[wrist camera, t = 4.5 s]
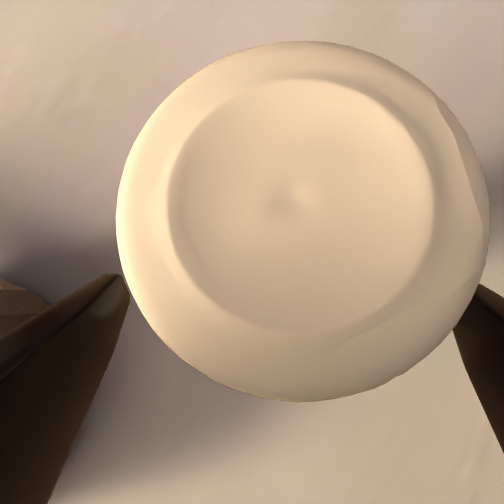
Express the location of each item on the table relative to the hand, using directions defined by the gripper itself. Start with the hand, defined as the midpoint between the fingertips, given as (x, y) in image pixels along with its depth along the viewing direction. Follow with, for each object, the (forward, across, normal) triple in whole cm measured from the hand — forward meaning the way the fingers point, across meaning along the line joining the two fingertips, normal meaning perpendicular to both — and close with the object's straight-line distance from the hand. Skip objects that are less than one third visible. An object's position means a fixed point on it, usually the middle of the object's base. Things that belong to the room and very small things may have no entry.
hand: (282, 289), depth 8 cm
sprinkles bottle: (+7, 0, +6) cm, 9 cm away
